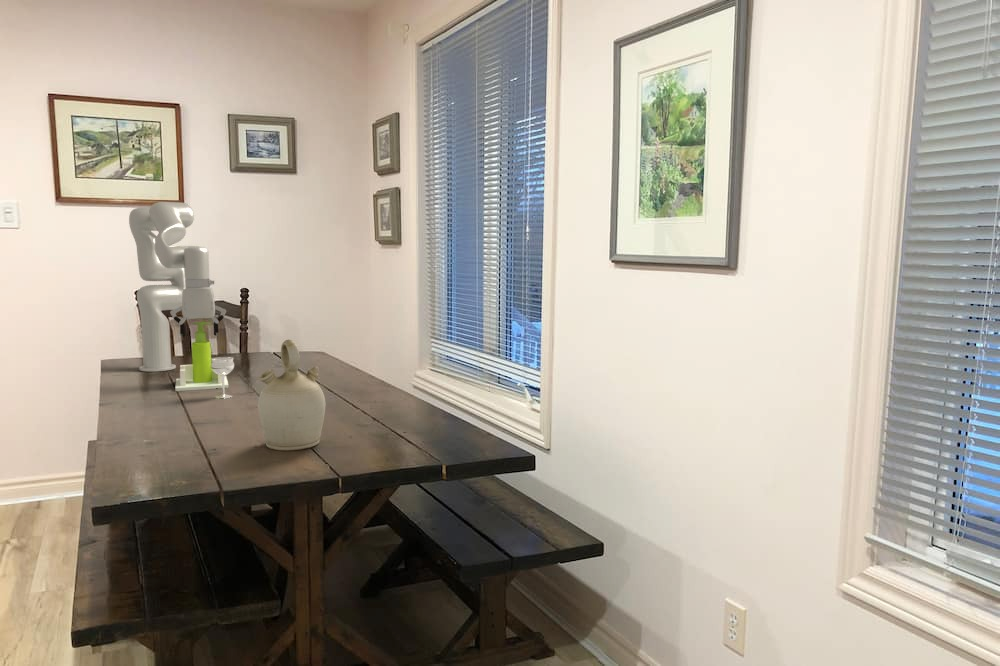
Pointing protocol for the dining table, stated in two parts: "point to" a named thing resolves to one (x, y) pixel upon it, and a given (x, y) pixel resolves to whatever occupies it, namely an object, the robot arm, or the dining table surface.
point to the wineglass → (222, 369)
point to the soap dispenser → (201, 356)
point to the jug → (291, 404)
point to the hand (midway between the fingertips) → (199, 335)
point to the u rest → (188, 384)
